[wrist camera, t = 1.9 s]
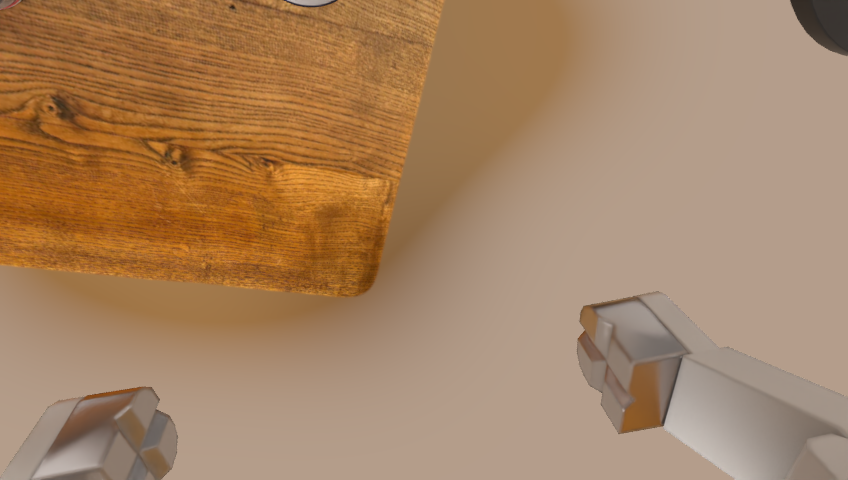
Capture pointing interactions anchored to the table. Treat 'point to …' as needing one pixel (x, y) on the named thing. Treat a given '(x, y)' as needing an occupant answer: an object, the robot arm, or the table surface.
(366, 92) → the table surface
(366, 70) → the table surface
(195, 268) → the table surface
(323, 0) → the beverage can
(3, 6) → the pill bottle
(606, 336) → the robot arm
